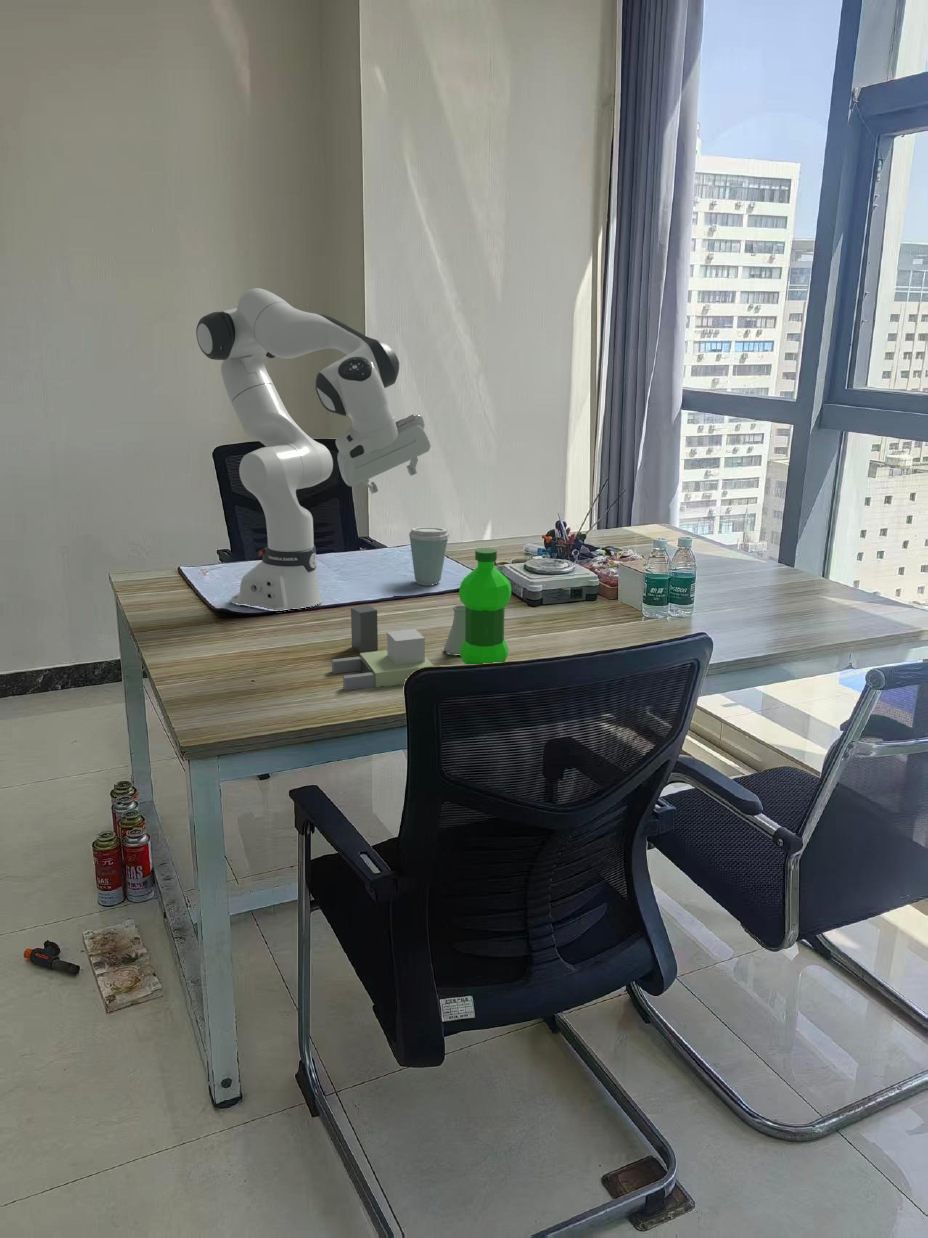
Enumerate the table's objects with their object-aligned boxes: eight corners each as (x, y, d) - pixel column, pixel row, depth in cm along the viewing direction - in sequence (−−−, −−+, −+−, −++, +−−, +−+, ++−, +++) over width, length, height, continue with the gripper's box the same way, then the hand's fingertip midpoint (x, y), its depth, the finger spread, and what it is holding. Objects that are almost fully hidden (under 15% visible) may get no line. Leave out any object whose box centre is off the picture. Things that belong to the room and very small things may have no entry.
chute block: (361, 653, 210) (360, 613, 207) (351, 647, 214) (350, 607, 211) (377, 650, 212) (377, 610, 209) (368, 644, 216) (367, 604, 213)
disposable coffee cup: (407, 577, 267) (407, 523, 263) (447, 577, 269) (447, 523, 264) (410, 588, 257) (409, 532, 253) (451, 587, 259) (451, 531, 254)
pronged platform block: (345, 691, 189) (344, 652, 187) (331, 670, 200) (330, 633, 198) (434, 680, 195) (434, 642, 193) (415, 660, 206) (415, 624, 204)
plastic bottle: (455, 676, 197) (456, 555, 190) (464, 659, 207) (465, 543, 199) (505, 680, 196) (507, 558, 188) (511, 662, 205) (514, 545, 198)
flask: (442, 646, 215) (442, 602, 212) (475, 645, 215) (475, 601, 212) (444, 657, 208) (444, 612, 205) (478, 656, 209) (478, 611, 206)
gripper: (415, 404, 210) (430, 455, 220) (328, 443, 207) (347, 494, 217) (426, 418, 206) (441, 469, 215) (337, 458, 203) (357, 508, 212)
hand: (393, 482), depth 216 cm, fingers open, 8 cm apart
